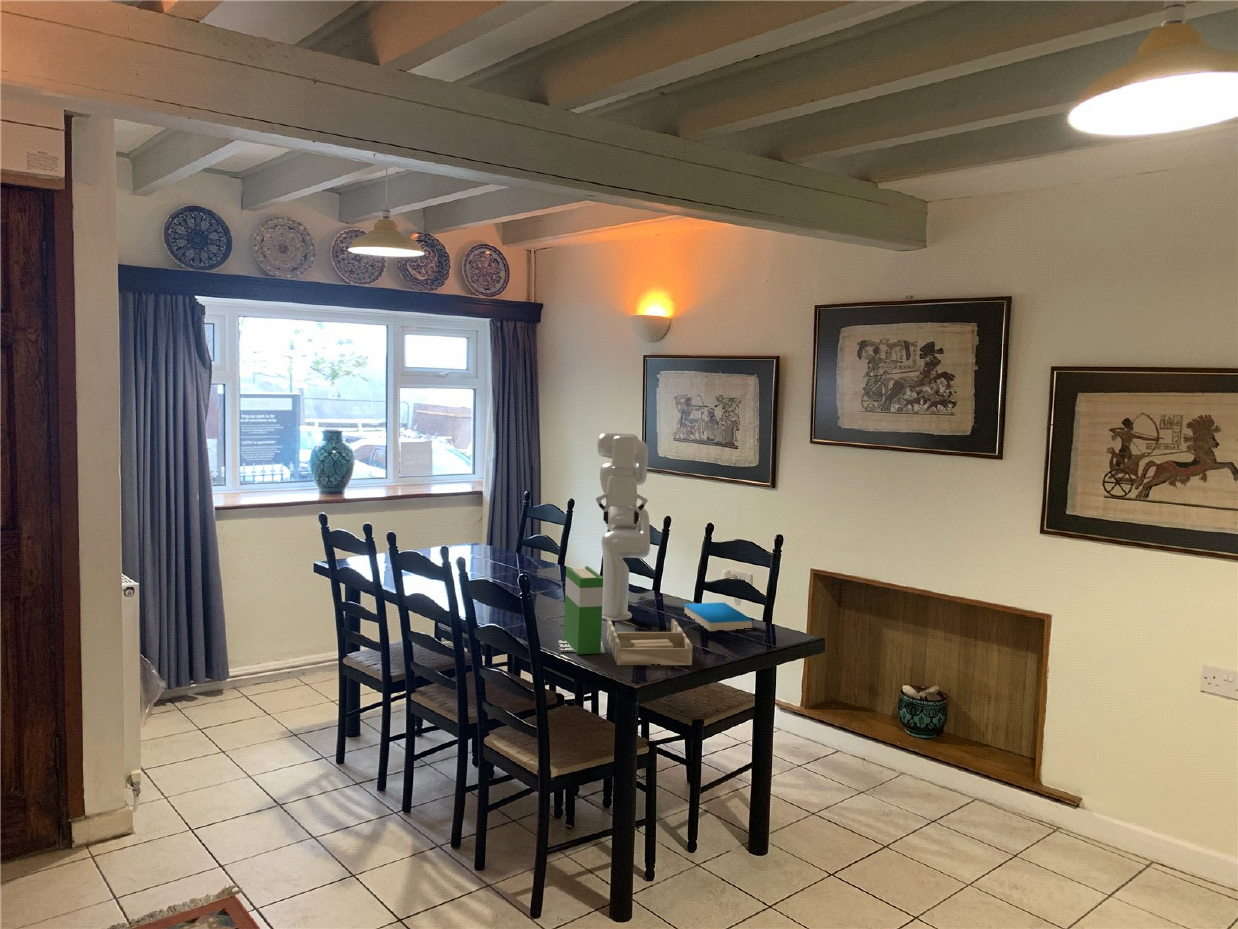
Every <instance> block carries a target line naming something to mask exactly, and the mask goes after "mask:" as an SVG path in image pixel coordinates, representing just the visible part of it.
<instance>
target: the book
mask: <svg viewBox="0 0 1238 929" xmlns="http://www.w3.org/2000/svg"><path fill="white" fill-rule="evenodd" d="M683 605H684V614H685V613H686V614H687V616H688V617H689V616H690V618H691V619H692V620H694V619H695V620H694V621H695V622H696V623H698V624H699V623H700V624H699V625H701V626H702V627H703V626H704V627H703V628H704V629H706V630H708V632H718V631H717V630H724V631H736V629H744V628H752V627H753V628H754V622H753V618H750V617H749V616H747V615H745V614H744V613H742V612H741V611H739V610H738V609H736V608H734V607H732V606H730V605H729V604H728V603H726V602H705V603H704V602H703V603H702V602H701V603H684V604H683ZM686 614H685V615H686ZM753 628H752V629H753ZM734 629H735V630H734Z"/></svg>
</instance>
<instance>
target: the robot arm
mask: <svg viewBox="0 0 1238 929" xmlns="http://www.w3.org/2000/svg"><path fill="white" fill-rule="evenodd" d="M597 439H598V440H597V444H596V446H597V453H598V455H599V456H600V457H603V458H608V459H611V461H610V462H606V463H604V464H602V465H601V467H600V468H599V481H600V486H601V489H602V492H603V493H602V494H601V495H600V496H597V497H596V498H595V501H596V503H597V505H598V507H599V508H600V509H601V510H602V511H603V516H602V517H603V519H602V520H603V521H604V523H605V525H606V528H607V529H608V530H609V531H607V532H605V533H603V535H602V537H601V550H602V559H603V560H602V577H603V600H602V620H604V619H605V621H607V619H611V622H613V621H615V622H616V621H617V622H618V621H627V620H628V621H629V620H630V619H631V618H632V616H633V615H632V614H633V613H631V612H630V611H628V609H629V608H628V606H629V587H630V585H629V581H630V568H629V566H628V564H627V563H626V562H625V561H624V558H628V559H630V558H631V559H632V558H633V559H634V558H636V559H638V558H639V559H643V558H647V557H648V555H649V554H650V549H651V536H650V535H651V532H650V531H651V530H650V528H651V527H650V515H649V512H648V511H647V509H646V508H645V506H646V504H647V503H648V501H649V500H648V499H647V498H646V497H644V496H642V495H640V494H638V486H641V485H643V484H644V483H645V482H646V480H647V476H648V475H647V473H648V464H649V463H648V462H649V448H648V445H647V443H646V442H645V441H644V440H641V439H639V437H638V436H637V435H636V434H634V433H618V432H617V433H615V432H603V433H600V435H599V436H598V438H597ZM602 500H605V502H606V503H605V505H604V503H602ZM638 500H639V501H641V503H640V504H639V505H638Z"/></svg>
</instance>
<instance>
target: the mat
mask: <svg viewBox="0 0 1238 929" xmlns="http://www.w3.org/2000/svg"><path fill="white" fill-rule="evenodd" d="M559 643H567V642H566V641H562V640H558V645H560V647H570V648H565V649H562V648H561V649H560V647H559V651H560V650H573V648H571V646H570V645H569V644H568V645H567V644H565V645H563V644H559ZM574 652H575V651H574ZM600 654H606V650H605V648H604V644H603V641H602V640H601V653H600Z"/></svg>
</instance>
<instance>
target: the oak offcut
mask: <svg viewBox="0 0 1238 929" xmlns="http://www.w3.org/2000/svg"><path fill="white" fill-rule="evenodd" d="M630 648H673V644H672V643H671V642H670V641H669V640H668V639H659V640H631V645H630Z"/></svg>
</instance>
